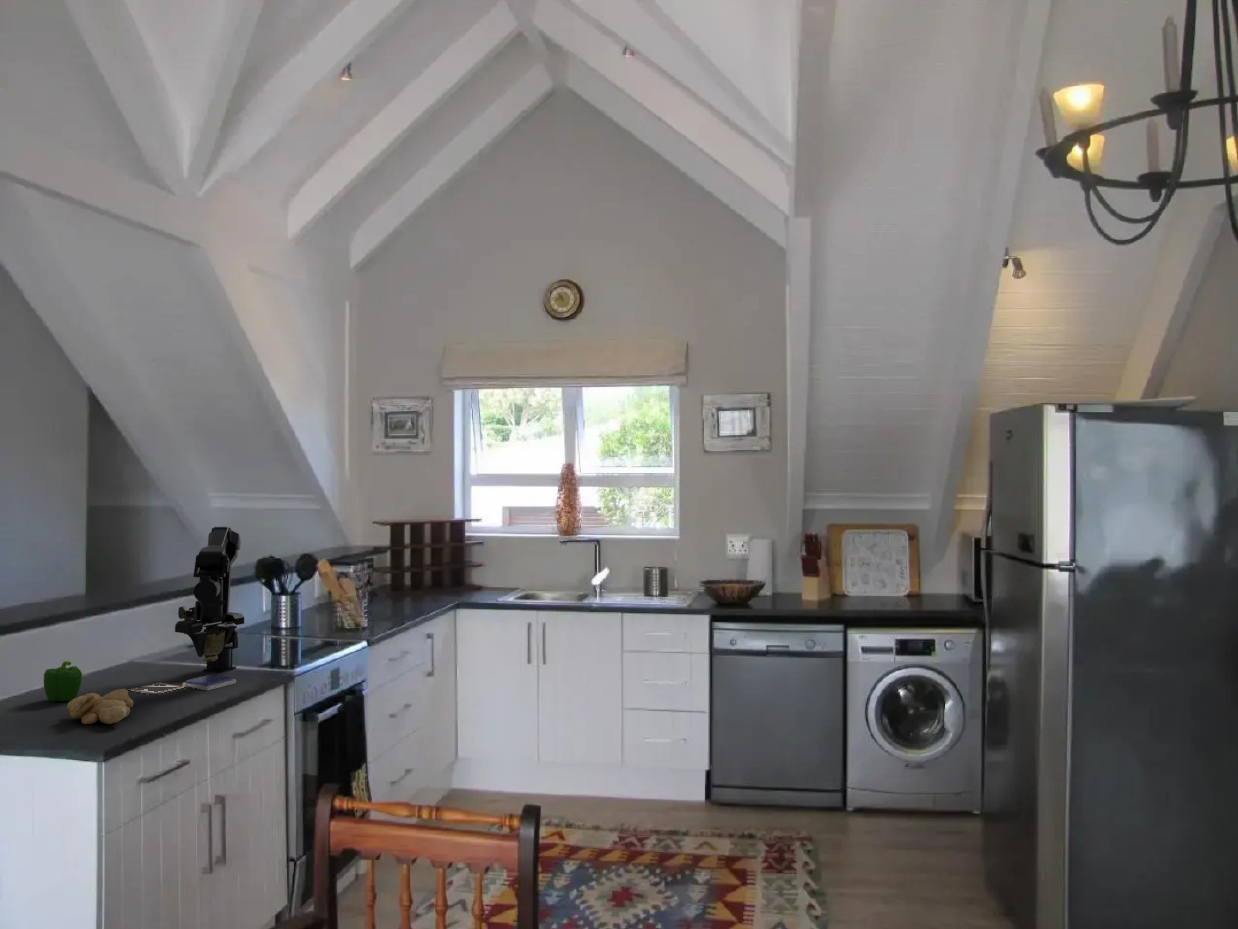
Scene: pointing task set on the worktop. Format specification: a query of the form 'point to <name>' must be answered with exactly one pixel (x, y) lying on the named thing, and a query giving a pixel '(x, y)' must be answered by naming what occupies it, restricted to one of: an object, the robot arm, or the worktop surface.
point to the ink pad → (209, 682)
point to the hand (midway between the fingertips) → (210, 654)
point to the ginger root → (101, 707)
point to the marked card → (158, 686)
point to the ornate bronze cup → (213, 644)
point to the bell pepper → (62, 682)
